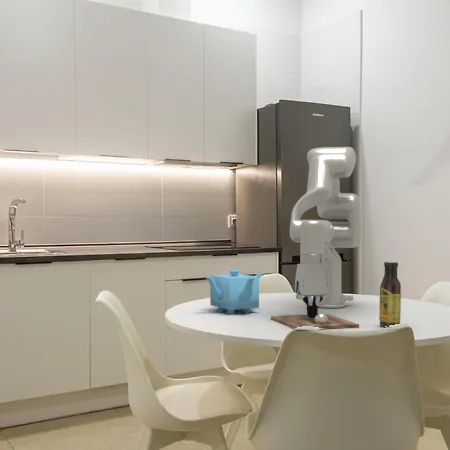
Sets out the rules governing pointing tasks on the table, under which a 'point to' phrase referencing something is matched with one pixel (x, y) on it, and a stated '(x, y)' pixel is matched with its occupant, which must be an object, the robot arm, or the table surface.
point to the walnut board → (304, 320)
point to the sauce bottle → (390, 296)
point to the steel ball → (321, 319)
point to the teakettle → (234, 291)
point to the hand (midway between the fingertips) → (312, 317)
